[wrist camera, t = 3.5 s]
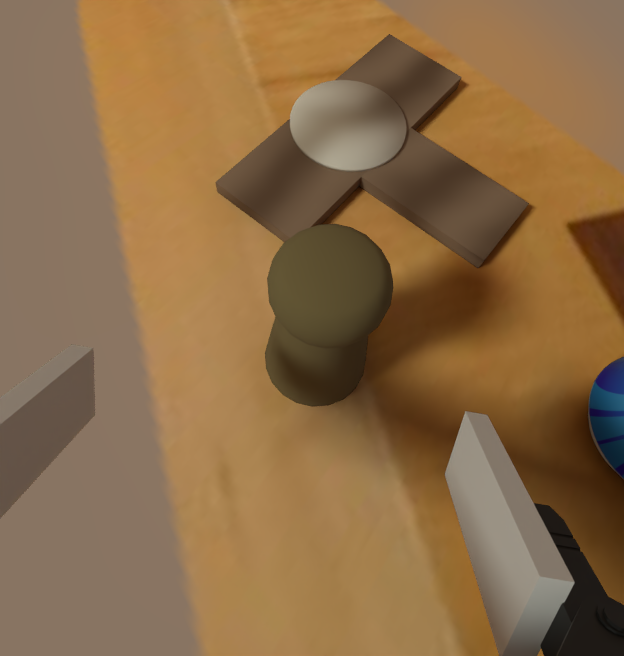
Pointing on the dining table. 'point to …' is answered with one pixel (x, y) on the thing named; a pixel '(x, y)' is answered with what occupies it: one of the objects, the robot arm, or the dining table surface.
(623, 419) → the beer can
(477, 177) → the walnut T board
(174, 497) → the dining table surface
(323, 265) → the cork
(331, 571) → the dining table surface
